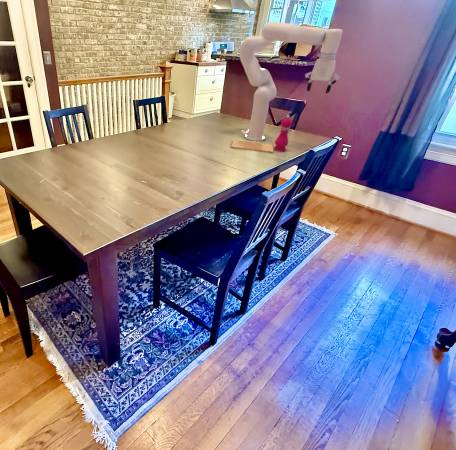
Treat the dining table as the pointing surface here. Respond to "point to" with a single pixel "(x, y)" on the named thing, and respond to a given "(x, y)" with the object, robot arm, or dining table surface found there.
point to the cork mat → (252, 146)
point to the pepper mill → (283, 135)
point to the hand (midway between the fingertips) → (317, 92)
